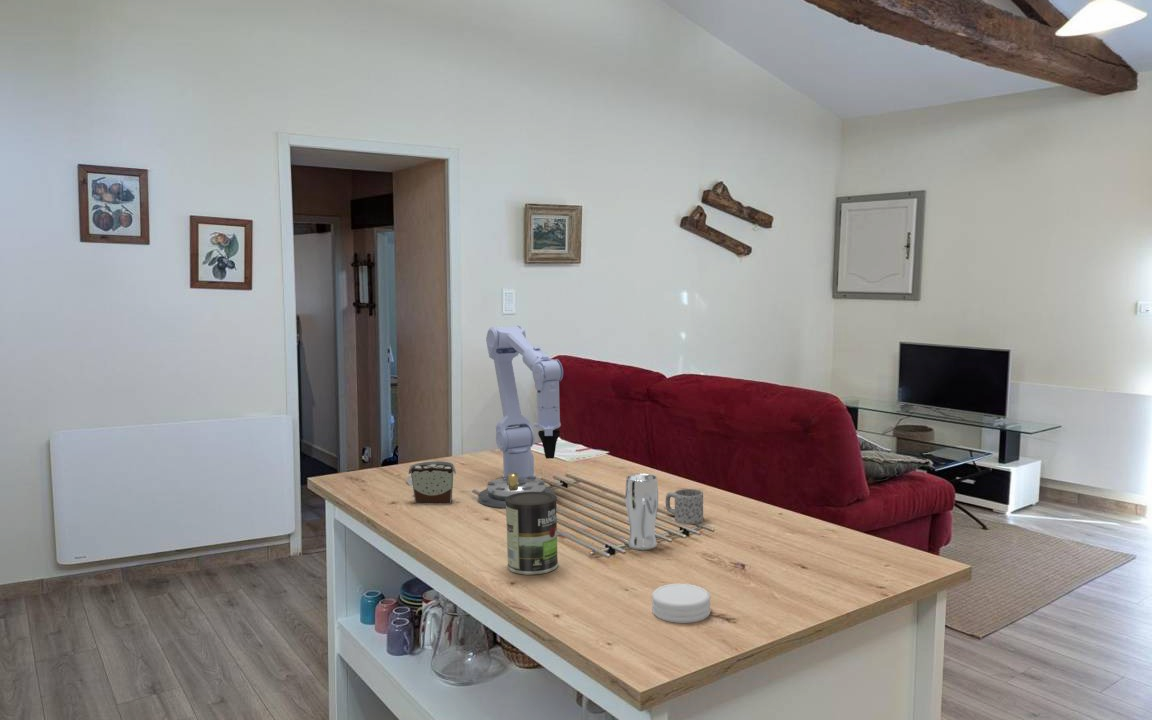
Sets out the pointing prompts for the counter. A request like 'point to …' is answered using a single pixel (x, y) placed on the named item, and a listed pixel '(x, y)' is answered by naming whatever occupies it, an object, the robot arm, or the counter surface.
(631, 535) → the beer glass
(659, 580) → the counter surface
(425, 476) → the food container
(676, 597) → the white round lid
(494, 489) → the lugged hub disc
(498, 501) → the dark grey flat disc
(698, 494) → the mug
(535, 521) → the coffee can
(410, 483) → the stirrer
